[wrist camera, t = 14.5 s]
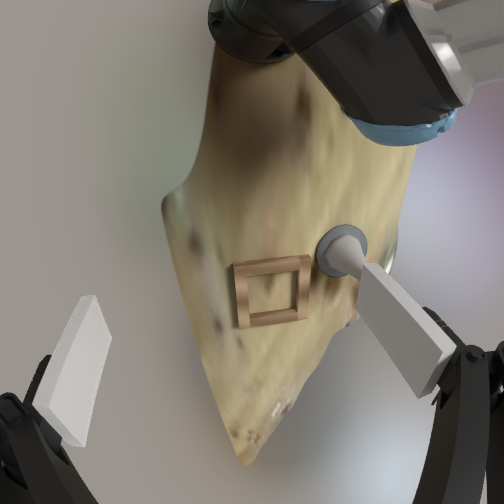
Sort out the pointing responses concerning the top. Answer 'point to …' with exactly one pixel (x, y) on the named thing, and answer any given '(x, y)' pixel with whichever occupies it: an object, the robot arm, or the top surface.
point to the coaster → (327, 241)
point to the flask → (346, 255)
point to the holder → (268, 267)
